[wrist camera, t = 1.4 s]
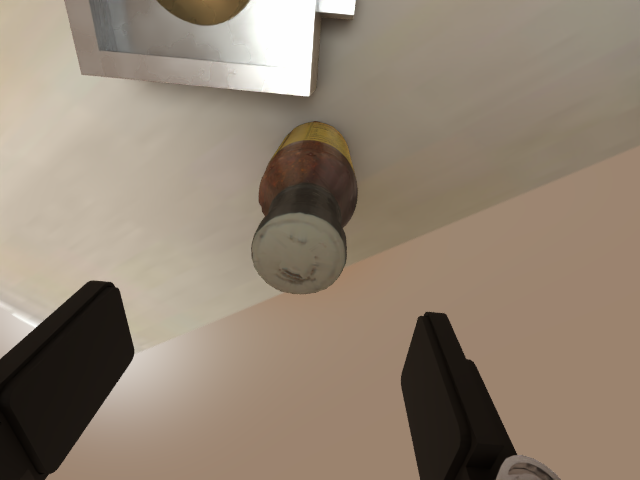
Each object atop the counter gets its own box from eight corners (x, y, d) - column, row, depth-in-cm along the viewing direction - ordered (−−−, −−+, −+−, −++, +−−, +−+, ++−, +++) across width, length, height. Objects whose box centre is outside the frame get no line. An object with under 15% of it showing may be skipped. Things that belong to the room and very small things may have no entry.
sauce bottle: (311, 196, 33) (281, 344, 16) (269, 147, 31) (182, 254, 14) (364, 157, 31) (397, 277, 14) (324, 101, 29) (302, 159, 12)
